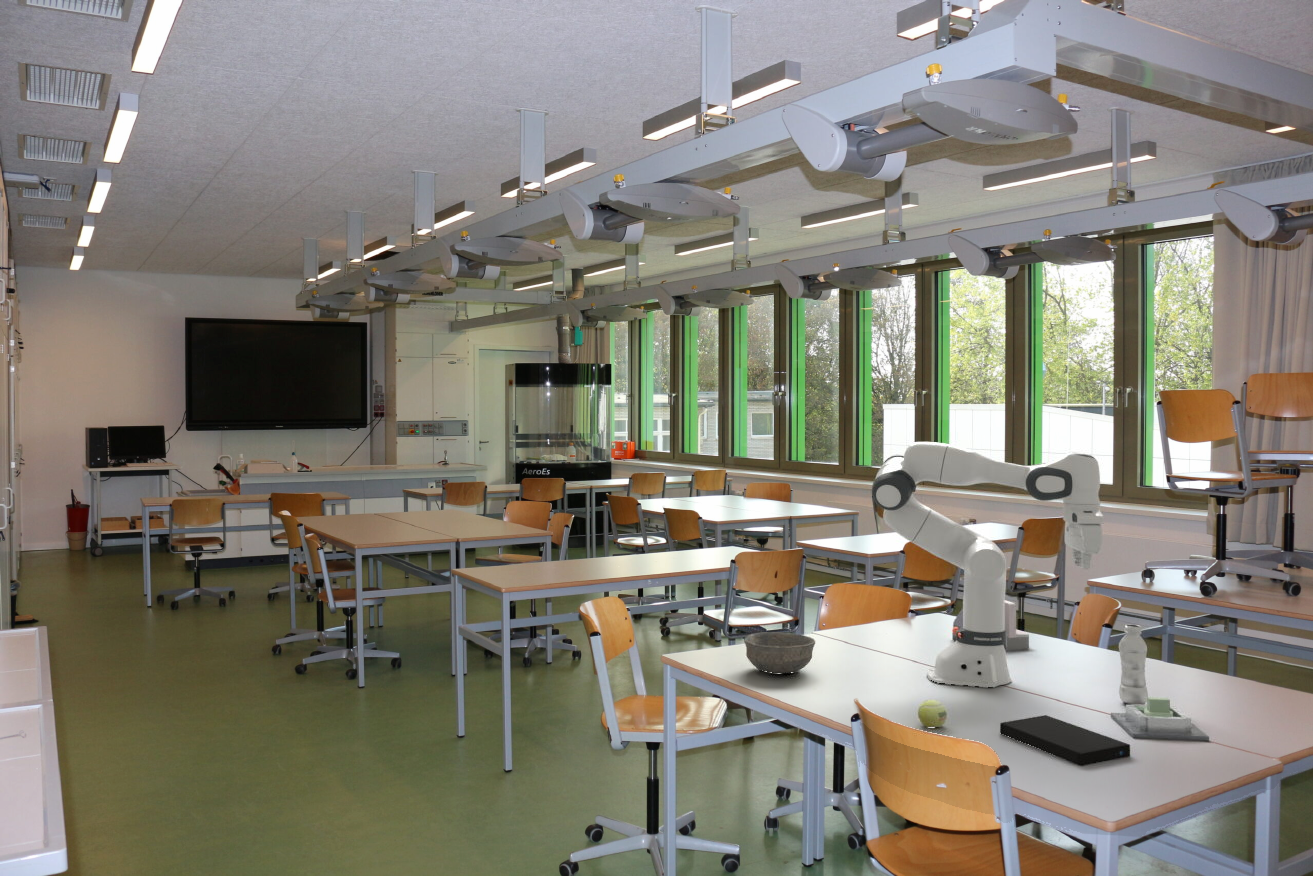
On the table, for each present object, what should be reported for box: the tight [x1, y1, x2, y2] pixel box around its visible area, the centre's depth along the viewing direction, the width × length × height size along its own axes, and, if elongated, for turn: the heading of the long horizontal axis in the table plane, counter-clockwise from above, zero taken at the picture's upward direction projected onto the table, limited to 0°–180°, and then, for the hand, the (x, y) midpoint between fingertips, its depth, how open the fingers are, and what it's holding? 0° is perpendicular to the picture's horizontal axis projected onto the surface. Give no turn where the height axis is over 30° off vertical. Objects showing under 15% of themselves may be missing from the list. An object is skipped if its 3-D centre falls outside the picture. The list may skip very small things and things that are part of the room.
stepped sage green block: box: [1144, 696, 1173, 717], centre depth 222 cm, size 6×6×6 cm
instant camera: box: [952, 599, 1030, 651], centre depth 310 cm, size 21×21×15 cm
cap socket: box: [1110, 703, 1210, 742], centre depth 222 cm, size 16×16×4 cm
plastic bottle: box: [1118, 623, 1149, 705], centre depth 241 cm, size 6×7×20 cm
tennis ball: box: [917, 698, 948, 728], centre depth 225 cm, size 6×7×7 cm
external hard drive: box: [999, 714, 1131, 767], centre depth 211 cm, size 14×23×3 cm, turn 23°
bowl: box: [743, 631, 816, 674], centre depth 275 cm, size 21×21×10 cm
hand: (1081, 567), depth 248 cm, fingers open, 5 cm apart
